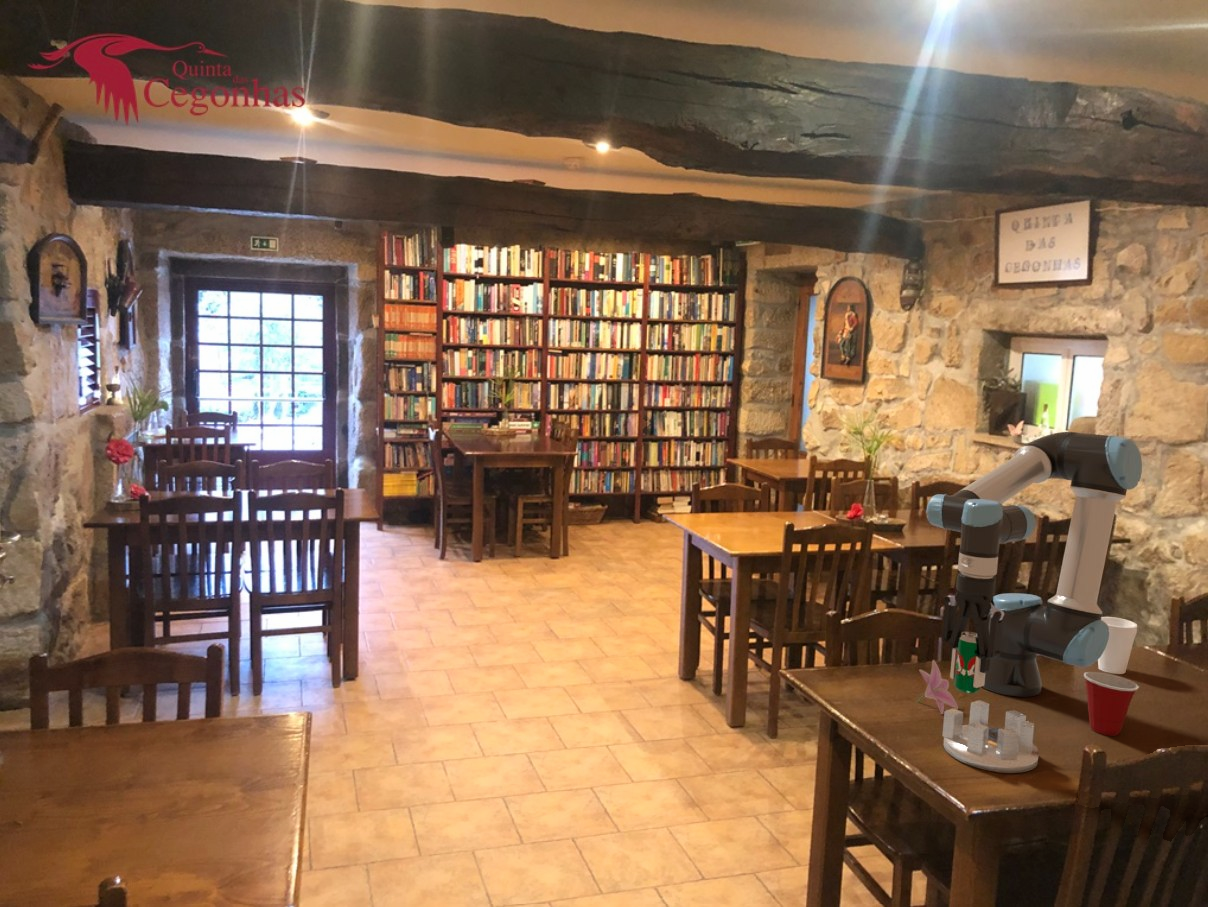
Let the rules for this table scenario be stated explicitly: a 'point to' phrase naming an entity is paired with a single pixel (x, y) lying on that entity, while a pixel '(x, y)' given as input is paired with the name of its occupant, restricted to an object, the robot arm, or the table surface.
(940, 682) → the lily
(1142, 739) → the table surface
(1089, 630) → the robot arm
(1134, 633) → the foam cup
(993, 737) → the round white pillared stand
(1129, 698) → the plastic cup
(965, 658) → the soda can
